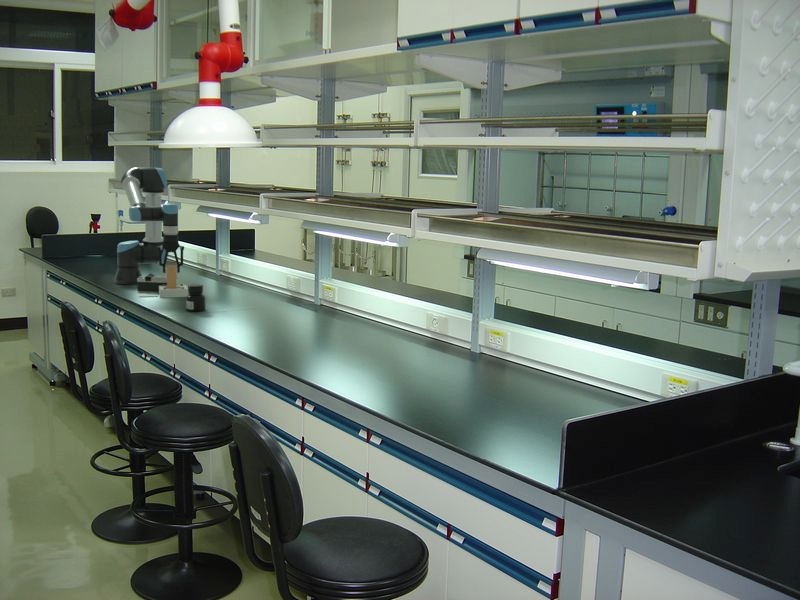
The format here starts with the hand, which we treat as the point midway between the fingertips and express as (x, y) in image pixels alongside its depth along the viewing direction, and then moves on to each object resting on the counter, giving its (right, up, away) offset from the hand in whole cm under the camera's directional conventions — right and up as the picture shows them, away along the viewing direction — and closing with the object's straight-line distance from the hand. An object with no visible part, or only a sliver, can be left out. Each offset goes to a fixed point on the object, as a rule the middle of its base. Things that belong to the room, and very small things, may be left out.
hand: (171, 278), depth 418 cm
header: (+1, -8, +2) cm, 8 cm away
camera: (-12, -7, +10) cm, 18 cm away
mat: (-11, -9, -2) cm, 14 cm away
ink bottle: (+22, -16, -39) cm, 47 cm away
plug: (0, -5, +1) cm, 5 cm away
